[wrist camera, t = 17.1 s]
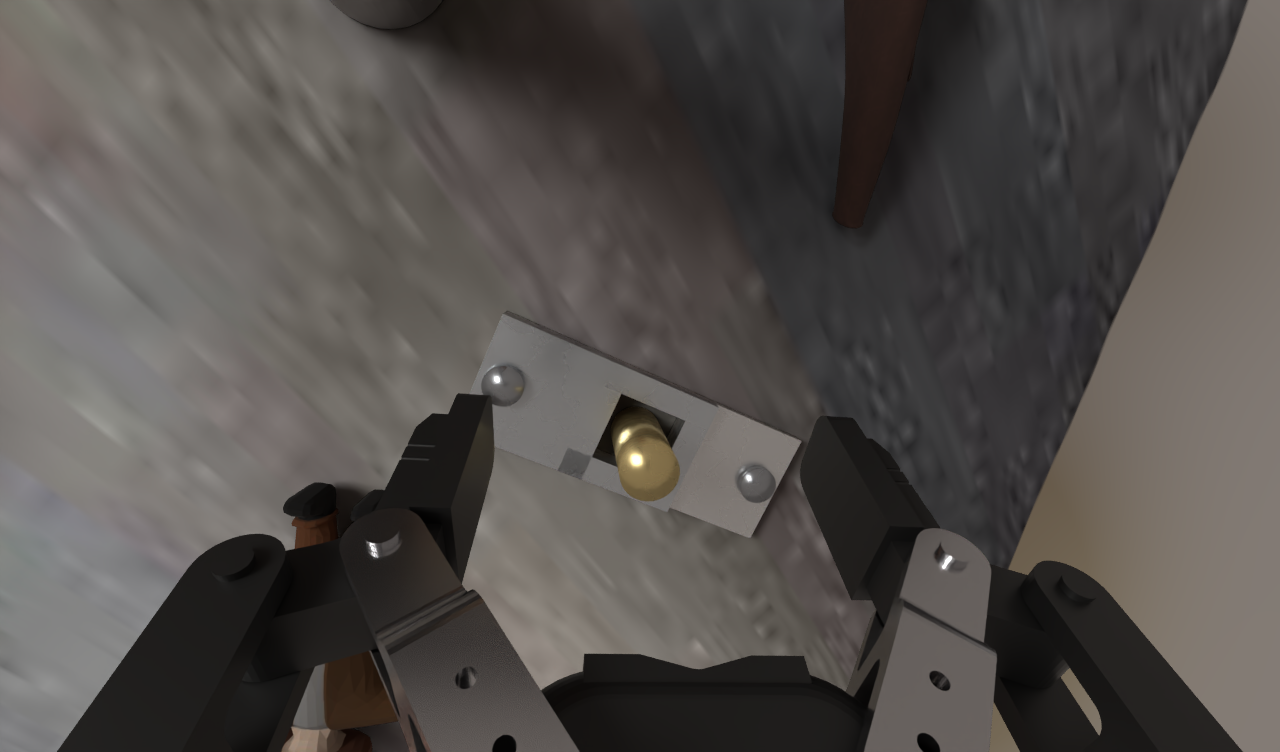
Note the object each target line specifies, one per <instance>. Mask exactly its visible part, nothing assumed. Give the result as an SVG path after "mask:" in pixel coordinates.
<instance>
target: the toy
mask: <svg viewBox="0 0 1280 752" xmlns="http://www.w3.org/2000/svg"><path fill="white" fill-rule="evenodd" d="M384 491H385V490H373V491H371V492H370V493H368V494H367V495H366V496H365V497H364V498H363V499H362V500H361V501H360V502H359V503H358V504H357V505H355V506H354V508H353V510H352V512H351V515H350V516H351V520H352V521H354V522H355V521H356V520H358V519H359V518H361V517H363V516H364V515H367V514H369V513H371V512H374V511H375V509H376V507H377V505H378V503H379V501H380V499H381V497H382V495H383V493H384ZM283 510H284V513H286V514H288V515H290V516H295V518H294V520H293V521H292V526H295V527H297V530H296V540H295V549H297V548H302V547H306V546H311V545H316V544H320V543H325V542H329V541H333V540H335V539H338V529H337V518H336V515H337V514H338V512H339V510H338V509H337V508H336V489H335V487H334V486H333V485H331V484H326V483H316V482H315V483H313V484H311V485H309V486H307V487H306V488H304V489H302V490H301V491H299V492H298V493H296V494H295V495H293V496H292V497H290V498H289V499H288V500H287V501H286V502H285V504H284V507H283ZM396 721H398V719H397V716H396V714H395V712H394V709H393V707H392V704H391V702H390V700H389V697H388V695H387V692H386V690H385V688H384V685H383V683H382V680H381V678H380V676H379V673H378V671H377V669H376V666H375V664H374V661H373V659H372V657H371V654H370V652H369V651H367V652H363V653H360V654H356V655H353V656H349V657H346V658H343V659H339V660H336V661H332V662H329V663H325V664H322V665H318V666H315V668H314V670H313V673H312V675H311V678H310V680H309V683H308V685H307V688H306V690H305V693H304V695H303V698H302V700H301V703H300V705H299V708H298V710H297V713H296V715H295V718H294V720H293V723H292V725H291V727H292V728H290V730H289V732H288V735H287V737H286V740H285V742H284V745H283V747H282V750H281V752H372V743H371V740H370V737H369V736H367V735H366V734H364V733H362V732H361V731H358V730H353V729H350V728H357V727H365V726H372V725H378V724H384V723H390V722H396Z"/></svg>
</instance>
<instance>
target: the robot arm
mask: <svg viewBox="0 0 1280 752" xmlns="http://www.w3.org/2000/svg"><path fill="white" fill-rule="evenodd" d="M330 1H331V2H332V3H333V5H335V6H336V7H337V8H338V9H340V10H341V11H342V12H343V13H345V14H346V15H347V16H349V17H351V18H353V19H355V20H356V21H358V22H360V23H362V24H366V25H369V26H372V27H376V28H383V29H397V28H404V27H409V26H411V25H413V24H416V23H418V22H421V21H422V20H423V19H425V18H426V17H428V16H429V15H430V14H432V13H433V12H434V10H435V9H436V8H437V7H438V6H439V4H440V3H441V2H442V0H330ZM493 462H494V427H493V407H492V398H491V396H490V395H476V394H459V393H458V394H457V395H456V398H455V400H454V402H453V405H452V407H451V409H450V412H449V414H433V413H432V414H431V415H430V416H429V417H428V418H426V419H425V420H424V421H423V422H422V423H420V424H419V425H418V426H417V427H416V428H415V430H414V432H413V434H412V436H411V438H410V440H409V442H408V446H407V447H406V449H405V451H404V453H403V455H402V459H401V460H400V461H399V463H398V465H397V467H396V469H395V471H394V473H393V475H392V477H391V479H390V481H389V483H388V485H387V487H386V489H385V491H384V493H383V495H382V497H381V499H380V501H379V503H378V505H377V507H376V509H375V511H374V512H371V513H369V514H367V515H364V516H363V517H361V518H359V519H358V520H356V521H355V522H354V523H353V524H351V525H350V526H349V528H348V529H347V530H346V531H345V533H344V534H343V536H342V537H341V538H338V539H335V540H333V541H329V542H325V543H320V544H316V545H311V546H306V547H302V548H297V549H292V550H288V551H285V548H284V545H283V544H282V543H281V541H279V540H278V539H277V538H275V537H272V536H270V535H265V534H249V535H243V536H239V537H235V538H232V539H229V540H226V541H224V542H222V543H220V544H218V545H216V546H214V547H212V548H211V549H209V550H207V551H206V552H205V553H203V554H202V555H201V556H199V557H198V558H197V559H196V560H195V561H194V562H193V563H192V564H191V565H190V567H189V568H188V569H187V571H186V572H185V573H184V575H183V576H182V578H181V579H180V580H179V582H178V583H177V585H176V586H175V587H174V589H173V590H172V592H171V593H170V594H169V596H168V597H167V599H166V600H165V601H164V603H163V604H162V606H161V607H160V608H159V610H158V611H157V613H156V614H155V615H154V617H153V618H152V620H151V621H150V622H149V624H148V625H147V627H146V628H145V629H144V631H143V632H142V634H141V635H140V636H139V638H138V639H137V641H136V642H135V643H134V645H133V646H132V648H131V649H130V650H129V652H128V653H127V655H126V656H125V657H124V659H123V660H122V662H121V663H120V664H119V666H118V667H117V669H116V670H115V671H114V673H113V674H112V675H111V677H110V678H109V680H108V681H107V682H106V684H105V685H104V687H103V688H102V689H101V691H100V692H99V694H98V695H97V696H96V698H95V699H94V701H93V702H92V703H91V705H90V706H89V708H88V709H87V710H86V712H85V713H84V715H83V716H82V717H81V719H80V720H79V722H78V723H77V724H76V726H75V727H74V729H73V730H72V731H71V733H70V734H69V736H68V737H67V738H66V740H65V741H64V743H63V744H62V745H61V747H60V748H59V750H58V751H57V752H281V750H282V747H283V745H284V742H285V740H286V737H287V735H288V732H289V730H290V728H291V725H292V723H293V720H294V718H295V715H296V713H297V710H298V708H299V705H300V703H301V700H302V698H303V695H304V693H305V690H306V688H307V685H308V683H309V680H310V678H311V675H312V673H313V670H314V668H315V666H318V665H322V664H325V663H329V662H332V661H336V660H339V659H343V658H346V657H349V656H353V655H356V654H360V653H363V652H367V651H369V652H370V654H371V657H372V659H373V661H374V664H375V666H376V669H377V671H378V673H379V676H380V678H381V680H382V683H383V685H384V688H385V690H386V692H387V695H388V697H389V700H390V702H391V704H392V707H393V709H394V712H395V714H396V716H397V719H398V721H399V724H400V726H401V729H402V731H403V734H404V736H405V739H406V742H407V745H408V748H409V751H410V752H989V747H990V736H991V723H992V711H993V701H994V703H995V705H996V707H997V709H998V710H999V712H1000V714H1001V716H1002V718H1003V720H1004V722H1005V724H1006V726H1007V728H1008V730H1009V731H1010V733H1011V735H1012V737H1013V739H1014V741H1015V743H1016V745H1017V746H1018V748H1019V750H1020V752H1242V750H1241V749H1240V748H1239V747H1238V746H1237V745H1236V743H1235V742H1234V741H1233V740H1232V738H1231V737H1230V736H1229V735H1228V734H1227V732H1226V731H1225V730H1224V729H1223V728H1222V727H1221V725H1220V724H1219V723H1218V722H1217V721H1216V719H1215V718H1214V717H1213V716H1212V715H1211V714H1210V713H1209V711H1208V710H1207V709H1206V708H1205V706H1204V705H1203V704H1202V703H1201V702H1200V701H1199V699H1198V698H1197V697H1196V696H1195V695H1194V694H1193V692H1192V691H1191V690H1190V689H1189V688H1188V686H1187V685H1186V684H1185V683H1184V682H1183V680H1182V679H1181V678H1180V677H1179V676H1178V674H1177V673H1176V672H1175V671H1174V670H1173V668H1172V667H1171V666H1170V665H1169V664H1168V663H1167V661H1166V660H1165V659H1164V658H1163V657H1162V655H1161V654H1160V653H1159V652H1158V651H1157V650H1156V649H1155V647H1154V646H1153V645H1152V644H1151V642H1150V641H1149V640H1148V639H1147V638H1146V637H1145V635H1144V634H1143V633H1142V632H1141V631H1140V629H1139V628H1138V627H1137V626H1136V625H1135V623H1134V622H1133V621H1132V620H1131V619H1130V618H1129V616H1128V615H1127V614H1126V613H1125V612H1124V610H1123V609H1122V608H1121V607H1120V606H1119V605H1118V603H1117V602H1116V601H1115V600H1114V599H1113V597H1112V596H1111V595H1110V594H1109V593H1108V592H1107V591H1106V590H1105V588H1104V587H1102V586H1101V585H1100V584H1099V583H1098V582H1097V581H1095V580H1094V579H1093V578H1091V577H1090V576H1088V575H1087V574H1085V573H1084V572H1082V571H1080V570H1078V569H1076V568H1074V567H1072V566H1069V565H1067V564H1064V563H1060V562H1055V561H1042V562H1040V563H1038V564H1037V565H1036V566H1035V567H1034V568H1033V570H1032V571H1031V572H1030V573H1029V575H1025V574H1022V573H1018V572H1015V571H1011V570H1008V569H1004V568H1001V567H997V566H994V565H991V564H989V562H988V560H987V559H986V557H985V556H984V554H983V553H982V552H981V551H980V550H979V549H978V548H977V547H976V546H975V545H973V544H972V543H971V542H970V541H968V540H966V539H965V538H963V537H961V536H960V535H958V534H955V533H953V532H951V531H947V530H944V529H941V528H940V527H939V525H938V524H937V522H936V521H935V519H934V518H933V516H932V515H931V513H930V512H929V510H928V509H927V508H926V506H925V505H924V503H923V502H922V500H921V499H920V497H919V496H918V494H917V493H916V491H915V490H914V488H913V487H912V485H909V481H908V480H907V478H906V477H905V475H904V474H903V472H900V468H899V466H898V465H897V463H896V462H895V461H894V459H893V458H892V456H891V455H890V453H889V452H888V451H886V450H885V449H884V448H883V447H881V446H880V445H879V444H878V443H877V442H875V441H874V440H873V439H867V438H866V436H865V435H864V433H863V432H862V430H861V429H860V427H859V426H858V424H857V422H856V421H855V420H854V419H853V418H848V417H831V416H821V417H819V418H818V420H817V421H816V424H815V426H814V429H813V432H812V435H811V438H810V440H809V443H808V446H807V449H806V451H805V454H804V457H803V460H802V463H801V469H800V478H801V484H802V487H803V490H804V492H805V494H806V496H807V499H808V501H809V503H810V506H811V508H812V510H813V513H814V515H815V517H816V520H817V522H818V524H819V526H820V529H821V531H822V533H823V536H824V538H825V540H826V543H827V545H828V547H829V549H830V552H831V554H832V556H833V559H834V561H835V563H836V566H837V568H838V570H839V572H840V575H841V577H842V579H843V582H844V584H845V586H846V589H847V591H848V593H849V595H850V598H851V600H872V601H873V603H874V605H875V608H876V609H875V611H874V612H873V614H872V616H871V618H870V621H869V624H868V627H867V630H866V633H865V636H864V639H863V642H862V645H861V648H860V651H859V655H858V658H857V661H856V664H855V667H854V670H853V673H852V676H851V679H850V681H849V684H848V687H847V689H846V691H843V690H842V689H840V688H838V687H836V686H835V685H833V684H831V683H829V682H827V681H824V680H822V679H819V678H817V677H814V676H811V675H810V674H809V671H808V668H807V665H806V662H805V659H804V656H748V657H745V658H741V659H737V660H734V661H730V662H727V663H723V664H720V665H716V666H712V667H709V668H705V669H692V668H688V667H685V666H681V665H677V664H674V663H670V662H666V661H663V660H659V659H655V658H652V657H648V656H644V655H641V654H584V664H583V672H579V673H576V674H572V675H569V676H567V677H564V678H562V679H560V680H557V681H556V682H554V683H552V684H550V685H549V686H547V687H545V688H544V689H542V690H540V689H539V687H538V685H537V684H536V682H535V681H534V679H533V678H532V676H531V674H530V673H529V671H528V670H527V668H526V667H525V665H524V663H523V662H522V660H521V659H520V657H519V655H518V654H517V652H516V651H515V649H514V648H513V646H512V644H511V643H510V641H509V640H508V638H507V637H506V635H505V633H504V632H503V630H502V629H501V627H500V626H499V624H498V622H497V621H496V619H495V618H494V616H493V614H492V613H491V611H490V610H489V608H488V607H487V605H486V603H485V602H484V600H483V599H482V597H481V596H480V595H479V594H478V593H477V592H476V591H475V590H473V589H472V590H470V591H468V592H467V591H466V590H465V589H464V587H463V586H462V581H463V577H464V573H465V570H466V566H467V562H468V558H469V555H470V551H471V547H472V544H473V540H474V536H475V532H476V529H477V525H478V521H479V517H480V514H481V510H482V506H483V503H484V499H485V495H486V491H487V488H488V484H489V480H490V477H491V473H492V468H493ZM1069 668H1071V670H1072V672H1073V673H1074V675H1075V676H1076V678H1077V679H1078V681H1079V682H1080V683H1081V685H1082V686H1083V688H1084V689H1085V691H1086V692H1087V694H1088V695H1089V697H1090V698H1091V700H1092V701H1093V703H1094V704H1095V706H1096V707H1097V709H1098V711H1099V714H1100V718H1101V723H1102V730H1101V734H1100V735H1098V734H1097V732H1096V731H1095V729H1094V727H1093V726H1092V724H1091V723H1090V721H1089V720H1088V718H1087V717H1086V715H1085V714H1084V712H1083V711H1082V709H1081V708H1080V706H1079V705H1078V703H1077V702H1076V700H1075V699H1074V697H1073V695H1072V694H1071V692H1070V691H1069V689H1068V688H1067V686H1066V685H1065V683H1064V682H1063V681H1062V679H1061V676H1062V675H1063V674H1064V673H1065V672H1066V671H1067V670H1068V669H1069Z"/></svg>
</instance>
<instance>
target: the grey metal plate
mask: <svg viewBox="0 0 1280 752" xmlns="http://www.w3.org/2000/svg"><path fill="white" fill-rule="evenodd" d="M470 394H476V395H490V396H491V398H492V407H493V427H494V446H495V447H497V448H500V449H503V450H505V451H508V452H510V453H513V454H516V455H518V456H521V457H524V458H526V459H529V460H531V461H534V462H537V463H539V464H542V465H545V466H547V467H550V468H552V469H555V470H558V471H560V472H563V473H566V474H568V475H571V476H573V477H576V478H579V479H581V480H584V481H587V482H589V483H592V484H594V485H597V486H600V487H602V488H605V489H608V490H610V491H613V492H615V493H618V494H621V495H623V496H626V497H628V498H631V499H634V500H636V501H639V502H642V503H644V504H647V505H649V506H652V507H655V508H657V509H660V510H663V511H665V512H667V511H668V509H669V507H670V508H672V509H675V510H678V511H680V512H683V513H686V514H688V515H691V516H693V517H696V518H699V519H701V520H704V521H706V522H709V523H712V524H714V525H717V526H719V527H722V528H725V529H727V530H730V531H732V532H735V533H738V534H740V535H743V536H745V537H748V538H751V536H752V534H753V532H754V530H755V528H756V526H757V524H758V522H759V521H760V519H761V517H762V515H763V513H764V511H765V509H766V507H767V505H768V504H769V502H770V500H771V498H772V496H773V494H774V492H775V490H776V488H777V487H778V485H779V483H780V481H781V479H782V477H783V475H784V473H785V471H786V470H787V468H788V466H789V464H790V462H791V460H792V458H793V456H794V454H795V453H796V451H797V449H798V447H799V445H800V443H801V440H799V439H798V438H797V437H795V436H793V435H791V434H789V433H786V432H784V431H782V430H779V429H777V428H775V427H773V426H770V425H768V424H766V423H763V422H761V421H759V420H756V419H754V418H752V417H750V416H747V415H745V414H743V413H740V412H738V411H736V410H734V409H731V408H729V407H727V406H724V405H722V404H720V403H718V402H715V401H713V400H711V399H708V398H706V397H704V396H701V395H699V394H697V393H695V392H692V391H690V390H688V389H685V388H683V387H681V386H679V385H676V384H674V383H672V382H669V381H667V380H665V379H663V378H660V377H658V376H656V375H653V374H651V373H649V372H647V371H644V370H642V369H640V368H637V367H635V366H633V365H630V364H628V363H626V362H624V361H621V360H619V359H617V358H614V357H612V356H610V355H608V354H605V353H603V352H601V351H598V350H596V349H594V348H592V347H589V346H587V345H585V344H582V343H580V342H578V341H575V340H573V339H571V338H569V337H566V336H564V335H562V334H559V333H557V332H555V331H553V330H550V329H548V328H546V327H543V326H541V325H539V324H537V323H534V322H532V321H530V320H527V319H525V318H523V317H520V316H518V315H516V314H514V313H511V312H509V311H506V312H505V313H503V315H502V317H501V320H500V322H499V324H498V327H497V329H496V331H495V334H494V336H493V339H492V341H491V343H490V346H489V348H488V351H487V353H486V355H485V358H484V360H483V363H482V365H481V367H480V370H479V372H478V374H477V377H476V379H475V382H474V384H473V386H472V389H471V391H470ZM621 394H623V395H626V396H628V397H630V398H633V399H635V400H637V401H640V402H642V403H644V404H647V405H649V406H652V407H654V408H656V409H659V410H661V411H663V412H666V413H668V414H670V415H673V416H675V417H677V418H676V420H675V423H674V425H673V427H672V429H671V431H670V433H669V435H668V437H667V440H668V442H669V444H670V446H671V448H672V450H673V452H674V454H675V456H676V458H677V460H678V463H679V467H680V476H679V480H678V483H677V485H676V486H675V488H674V489H673V490H672V491H671V492H670V493H669V494H668V495H667V496H665V497H664V498H661V499H659V500H656V501H640V500H637V499H635V498H633V497H631V496H630V495H629V494H628V493H627V492H626V491H625V490H624V488H623V487H622V485H621V482H620V477H619V472H618V467H617V462H616V457H615V456H614V455H611V454H609V453H606V452H604V451H601V450H599V449H596V447H597V445H598V443H599V441H600V439H601V436H602V434H603V432H604V430H605V428H606V426H607V424H608V421H609V419H610V417H611V415H612V413H613V411H614V409H615V406H616V404H617V402H618V400H619V398H620V396H621Z"/></svg>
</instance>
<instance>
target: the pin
mask: <svg viewBox="0 0 1280 752" xmlns="http://www.w3.org/2000/svg"><path fill="white" fill-rule="evenodd" d="M611 438H612V443H613V448H614V452H615V457H616V462H617V467H618V472H619V477H620V482H621V485H622V487H623V488H624V490H625V491H626V492H627V493H628V494H629V495H630V496H631V497H633V498H635V499H637V500H640V501H656V500H659V499H661V498H664V497H665V496H667V495H668V494H669V493H670V492H671V491H672V490H673V489H674V488H675V486H676V485H677V483H678V480H679V476H680V467H679V463H678V460H677V458H676V456H675V454H674V452H673V450H672V448H671V446H670V444H669V442H668V440H667V438H666V436H665V435H664V433H663V431H662V429H661V427H660V425H659V423H658V421H657V419H656V417H655V416H654V414H653V413H652V412H650V411H649V410H647V409H645V408H643V407H629V408H626V409H624V410H622V411H621V412H619V413H618V414H617V415H616V416H615V418H614V420H613V421H612V424H611Z"/></svg>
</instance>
